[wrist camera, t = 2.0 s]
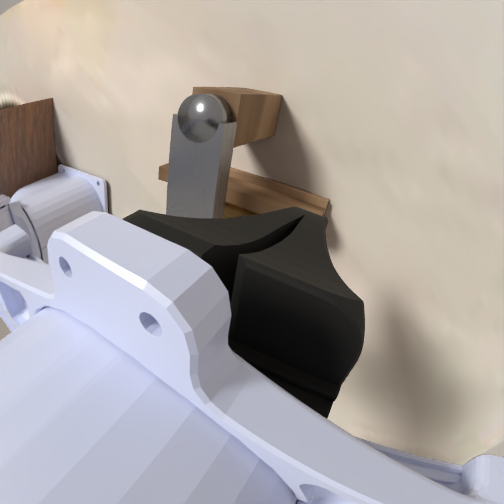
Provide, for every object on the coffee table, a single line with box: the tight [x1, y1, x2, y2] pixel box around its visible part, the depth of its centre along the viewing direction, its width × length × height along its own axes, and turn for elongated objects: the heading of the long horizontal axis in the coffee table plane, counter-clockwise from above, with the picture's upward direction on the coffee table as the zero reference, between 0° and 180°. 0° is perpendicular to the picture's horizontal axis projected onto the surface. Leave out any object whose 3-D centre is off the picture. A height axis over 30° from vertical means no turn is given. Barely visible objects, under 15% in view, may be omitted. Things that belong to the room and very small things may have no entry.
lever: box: [166, 94, 237, 219], centre depth 17 cm, size 3×14×1 cm, turn 170°
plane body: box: [159, 87, 329, 216], centre depth 20 cm, size 12×15×6 cm
